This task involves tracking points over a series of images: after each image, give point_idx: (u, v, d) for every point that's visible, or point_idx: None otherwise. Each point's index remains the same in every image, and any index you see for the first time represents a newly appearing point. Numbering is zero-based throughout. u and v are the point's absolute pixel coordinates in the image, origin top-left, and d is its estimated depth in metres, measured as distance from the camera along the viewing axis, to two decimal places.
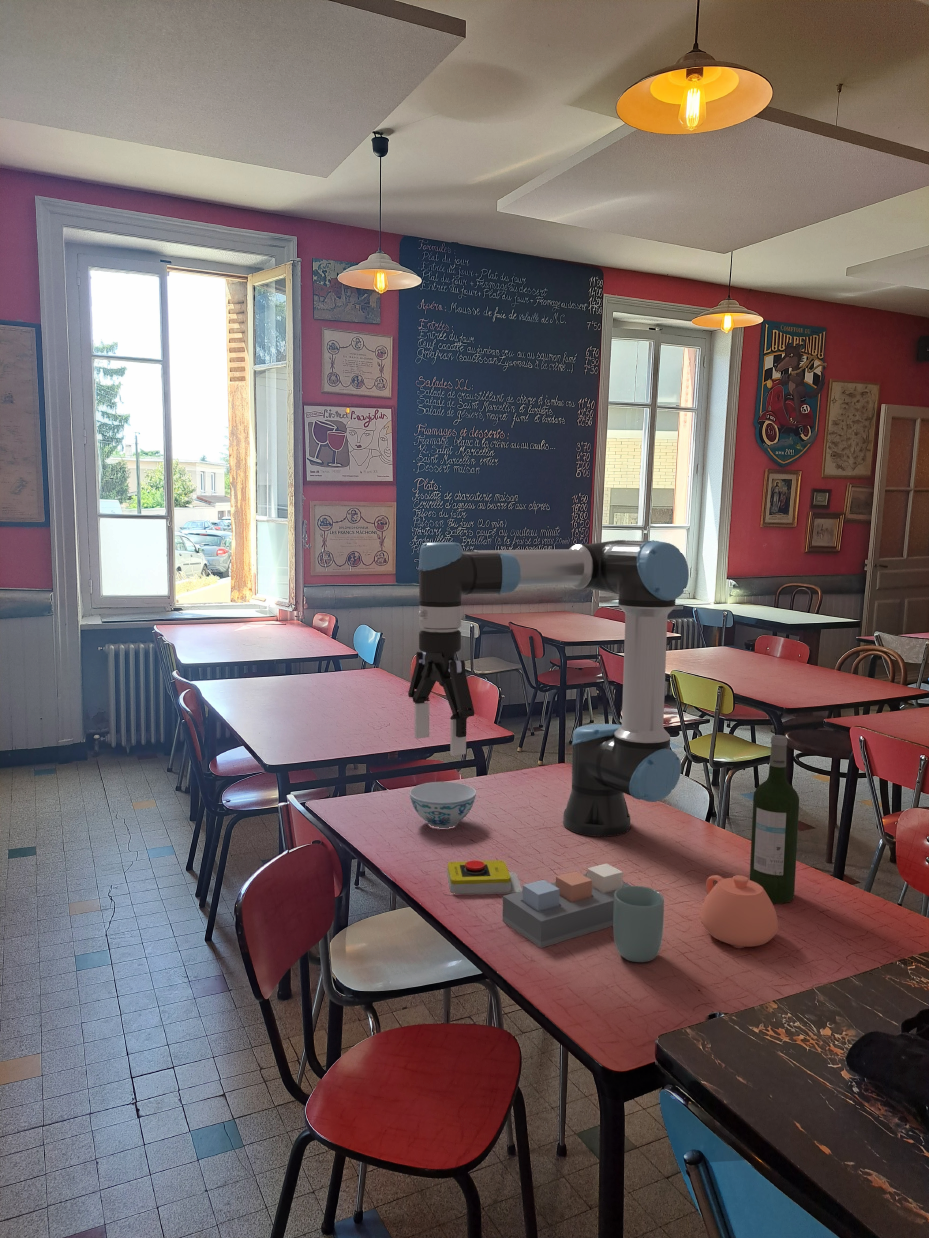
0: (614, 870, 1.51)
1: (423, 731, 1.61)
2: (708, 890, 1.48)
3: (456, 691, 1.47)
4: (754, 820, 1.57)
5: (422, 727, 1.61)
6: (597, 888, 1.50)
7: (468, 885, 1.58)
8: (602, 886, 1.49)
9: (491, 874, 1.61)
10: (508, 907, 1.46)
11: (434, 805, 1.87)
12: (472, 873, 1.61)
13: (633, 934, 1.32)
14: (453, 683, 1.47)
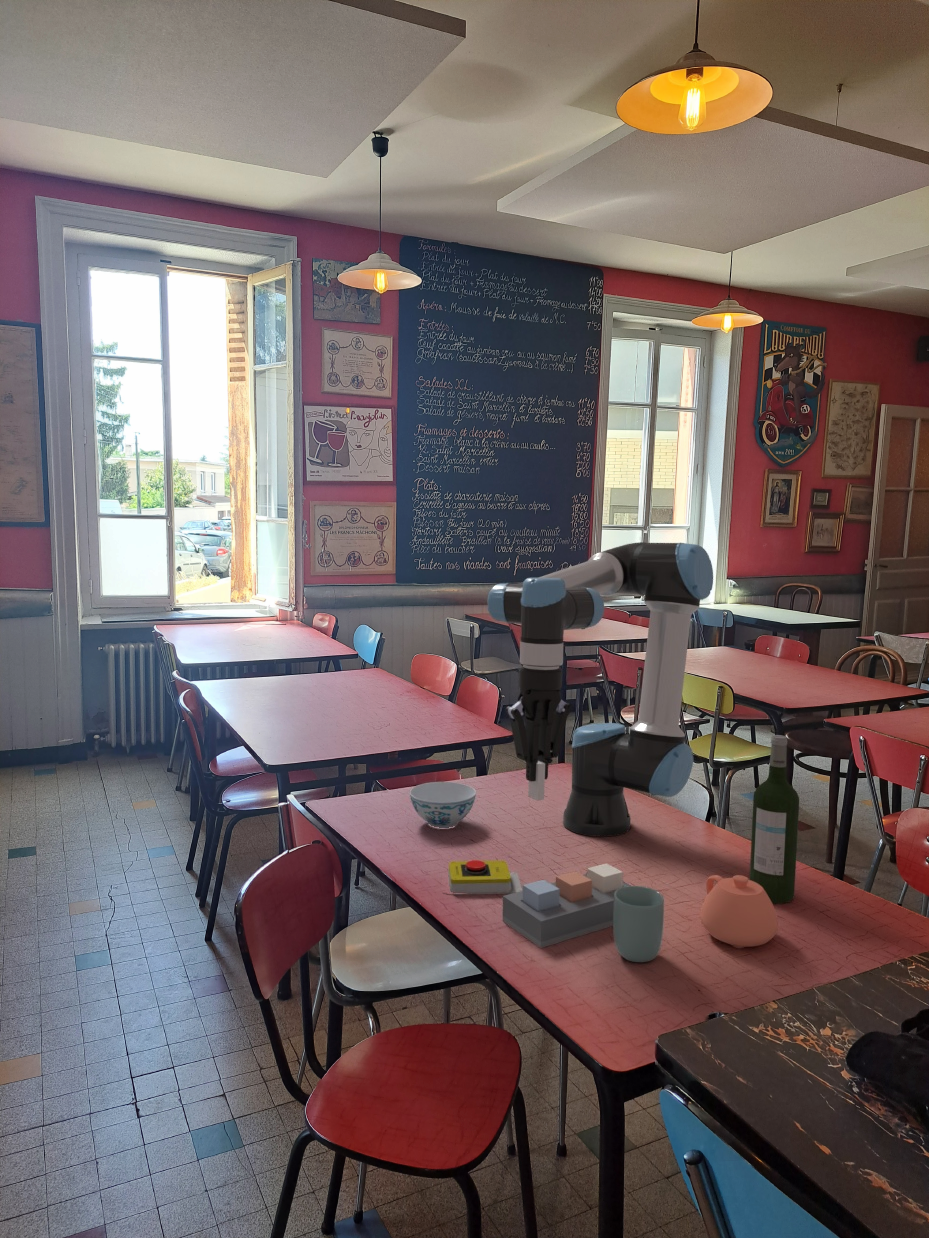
0: (614, 870, 1.51)
1: None
2: (708, 890, 1.48)
3: None
4: (754, 820, 1.57)
5: None
6: (597, 888, 1.50)
7: (468, 885, 1.58)
8: (602, 886, 1.49)
9: (492, 874, 1.61)
10: (508, 907, 1.46)
11: (434, 805, 1.87)
12: (472, 873, 1.61)
13: (633, 934, 1.32)
14: None
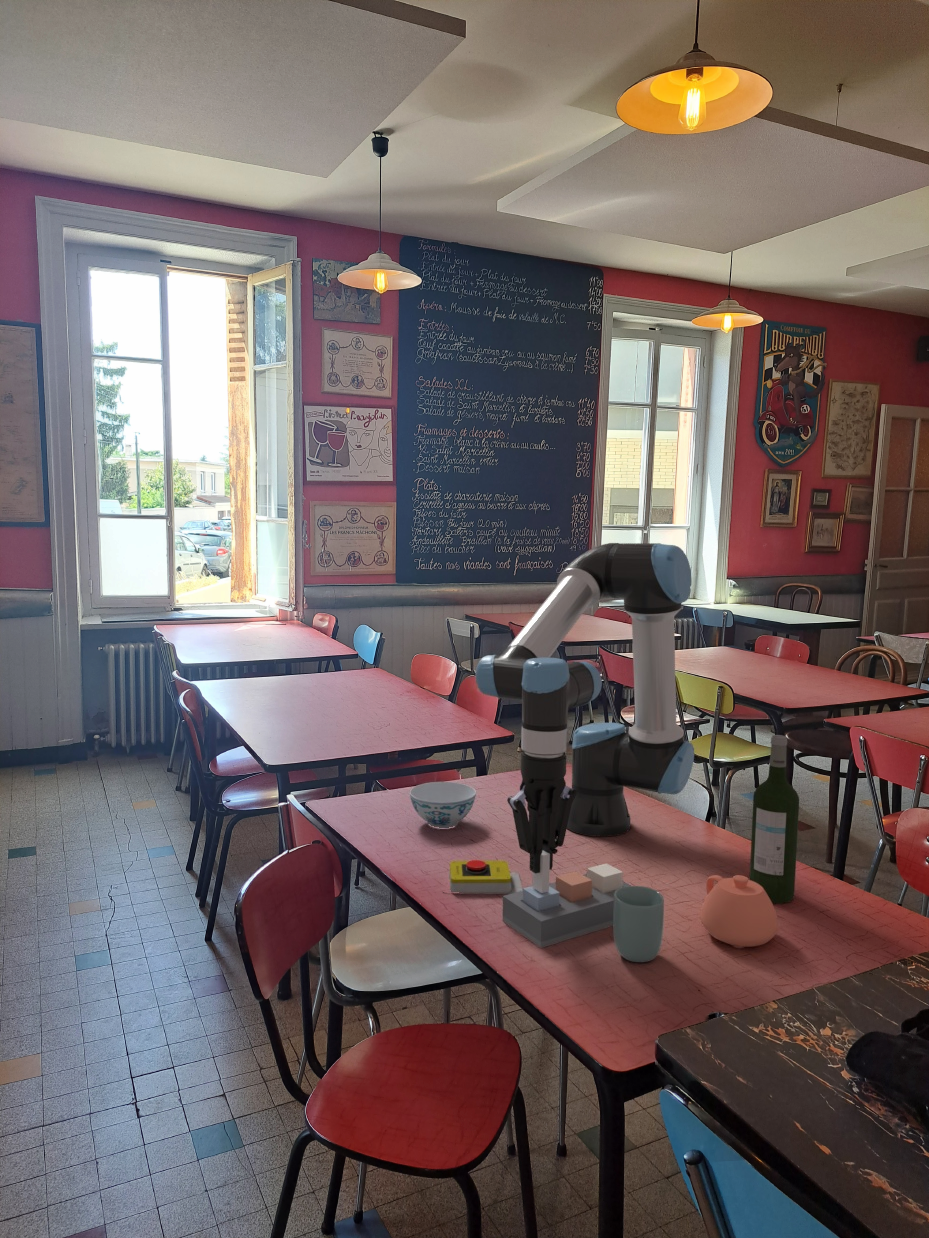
0: (614, 870, 1.51)
1: None
2: (708, 890, 1.48)
3: None
4: (754, 820, 1.57)
5: None
6: (597, 888, 1.50)
7: (468, 884, 1.59)
8: (602, 886, 1.49)
9: (492, 874, 1.61)
10: (508, 907, 1.46)
11: (434, 805, 1.87)
12: (473, 873, 1.61)
13: (633, 934, 1.32)
14: None
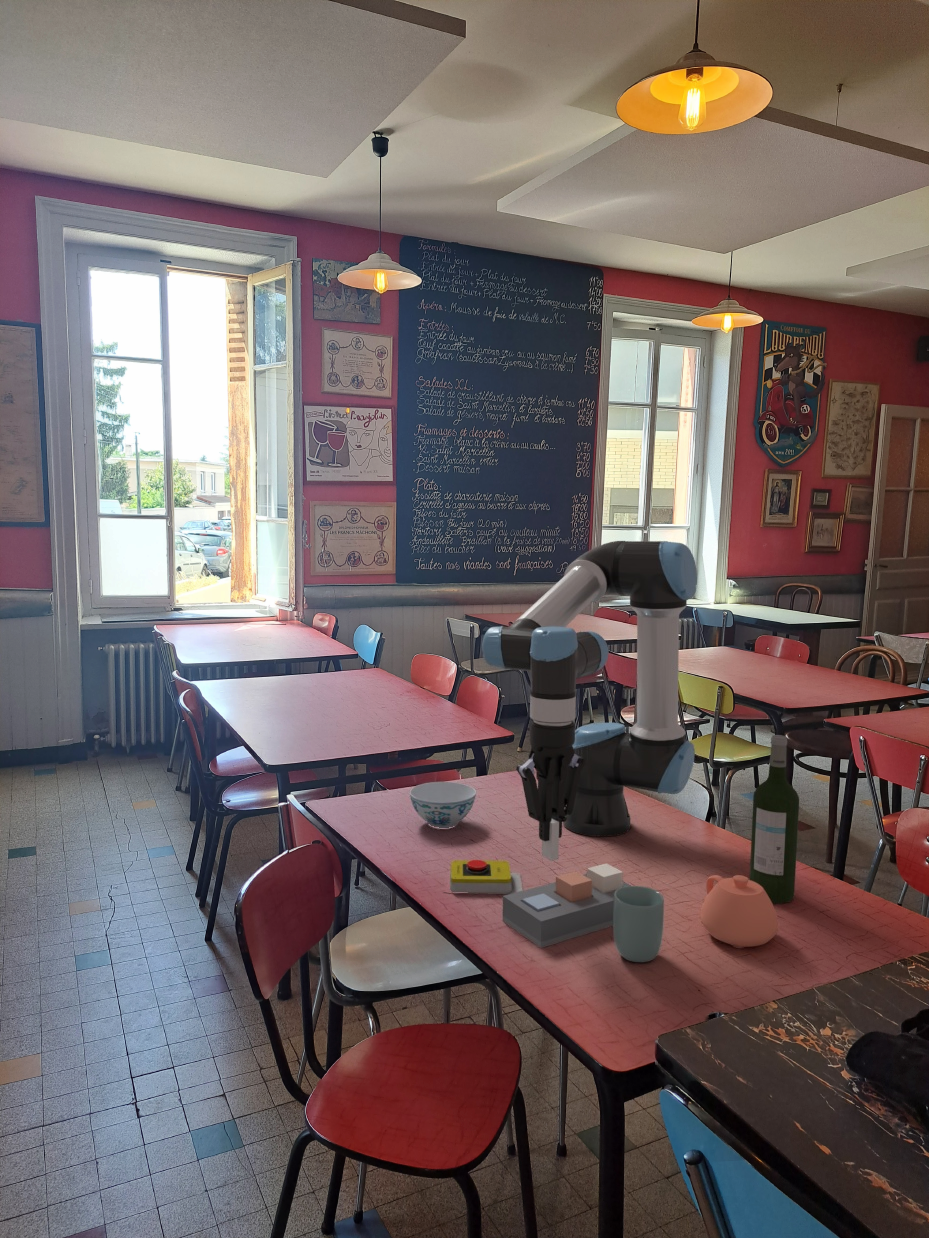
0: (614, 870, 1.51)
1: None
2: (708, 890, 1.48)
3: None
4: (754, 820, 1.57)
5: None
6: (597, 888, 1.50)
7: (468, 884, 1.59)
8: (602, 886, 1.49)
9: (492, 874, 1.61)
10: (508, 907, 1.46)
11: (434, 805, 1.87)
12: (473, 872, 1.61)
13: (633, 934, 1.32)
14: None
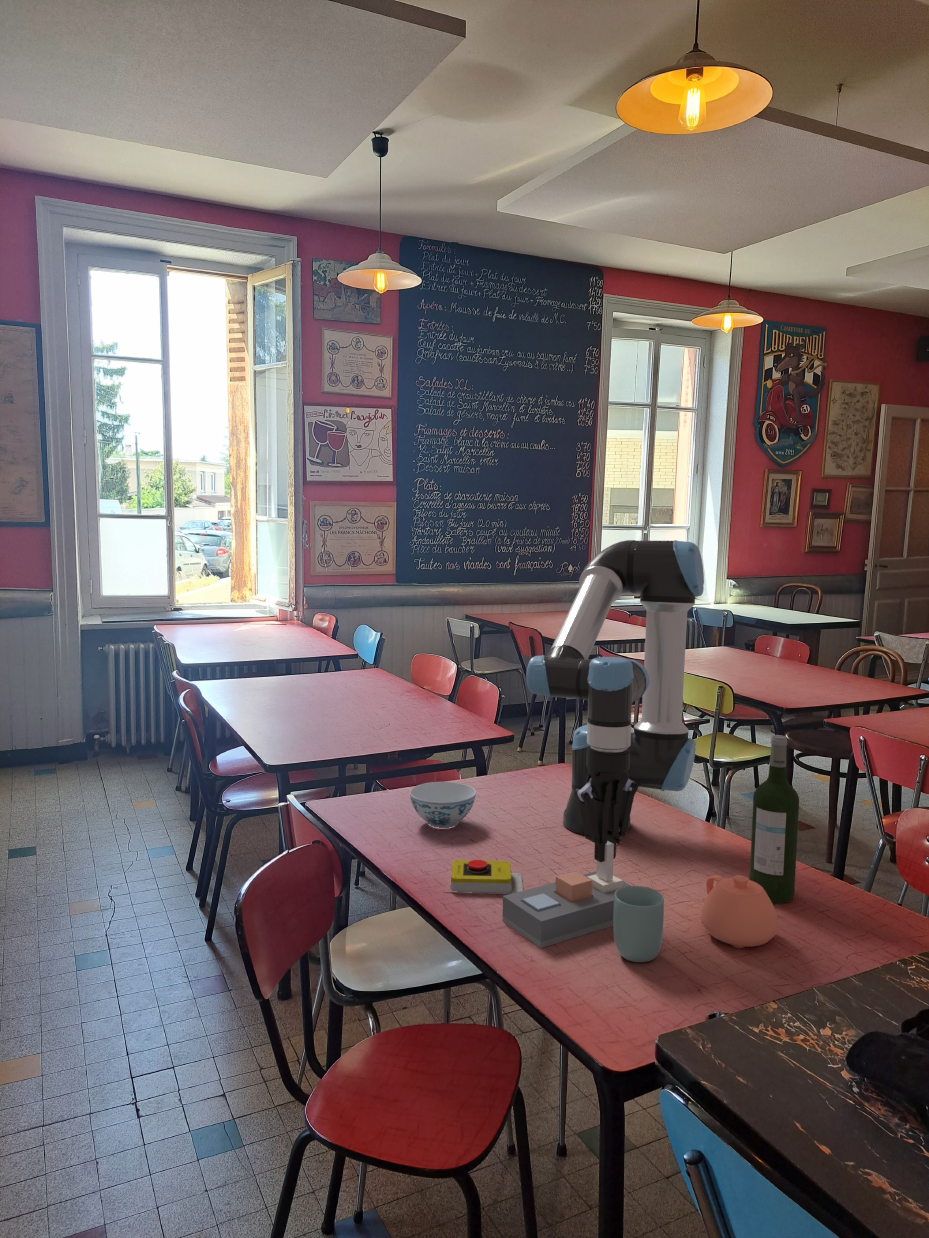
0: (613, 879, 1.51)
1: None
2: (708, 890, 1.48)
3: None
4: (754, 820, 1.57)
5: None
6: None
7: (468, 884, 1.59)
8: None
9: (492, 874, 1.61)
10: (508, 907, 1.46)
11: (434, 805, 1.87)
12: (473, 872, 1.61)
13: (633, 934, 1.32)
14: None
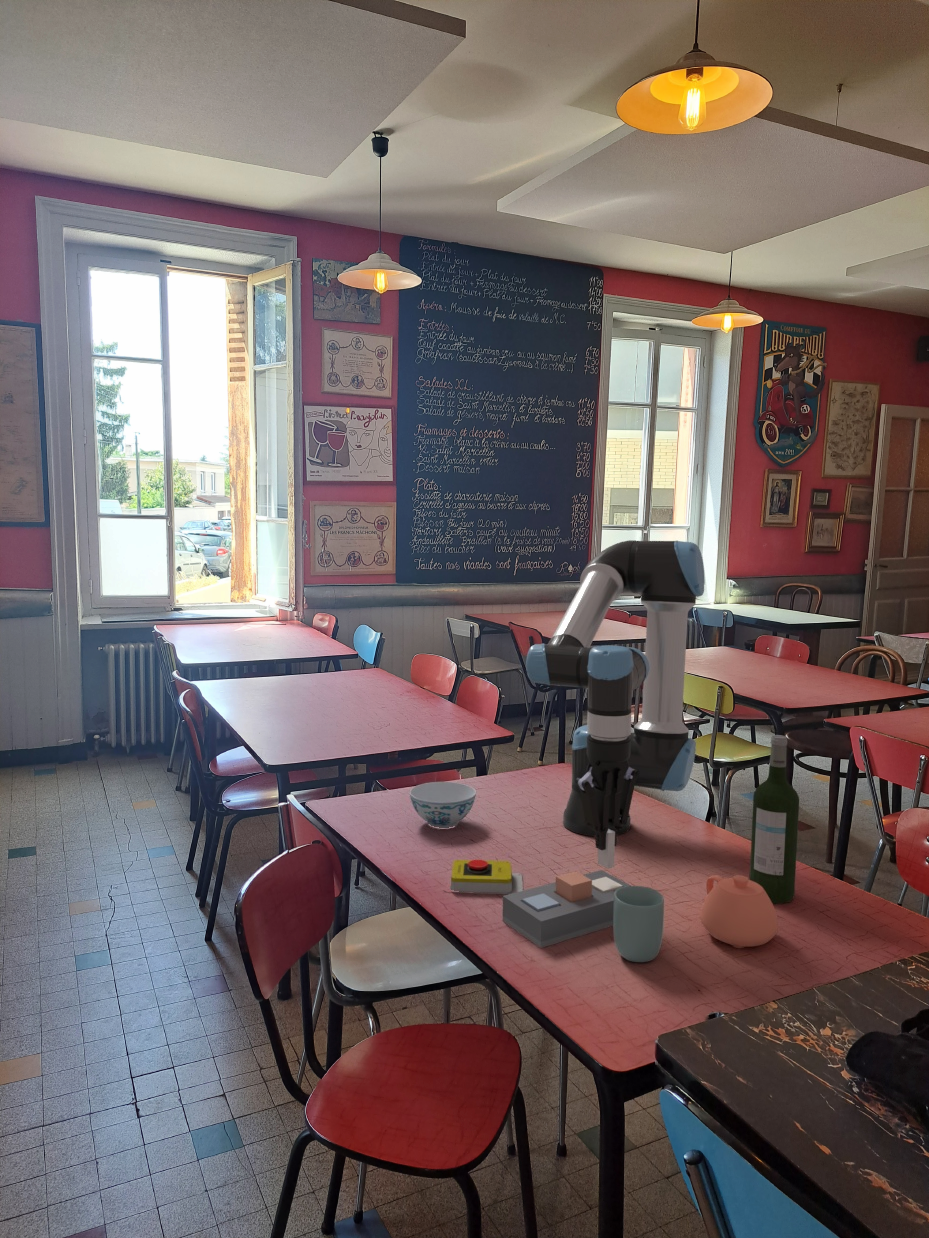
0: (613, 884, 1.52)
1: None
2: (708, 890, 1.48)
3: None
4: (754, 820, 1.57)
5: None
6: None
7: (468, 883, 1.59)
8: None
9: (493, 874, 1.61)
10: (508, 907, 1.46)
11: (434, 805, 1.87)
12: (474, 872, 1.61)
13: (633, 934, 1.32)
14: None
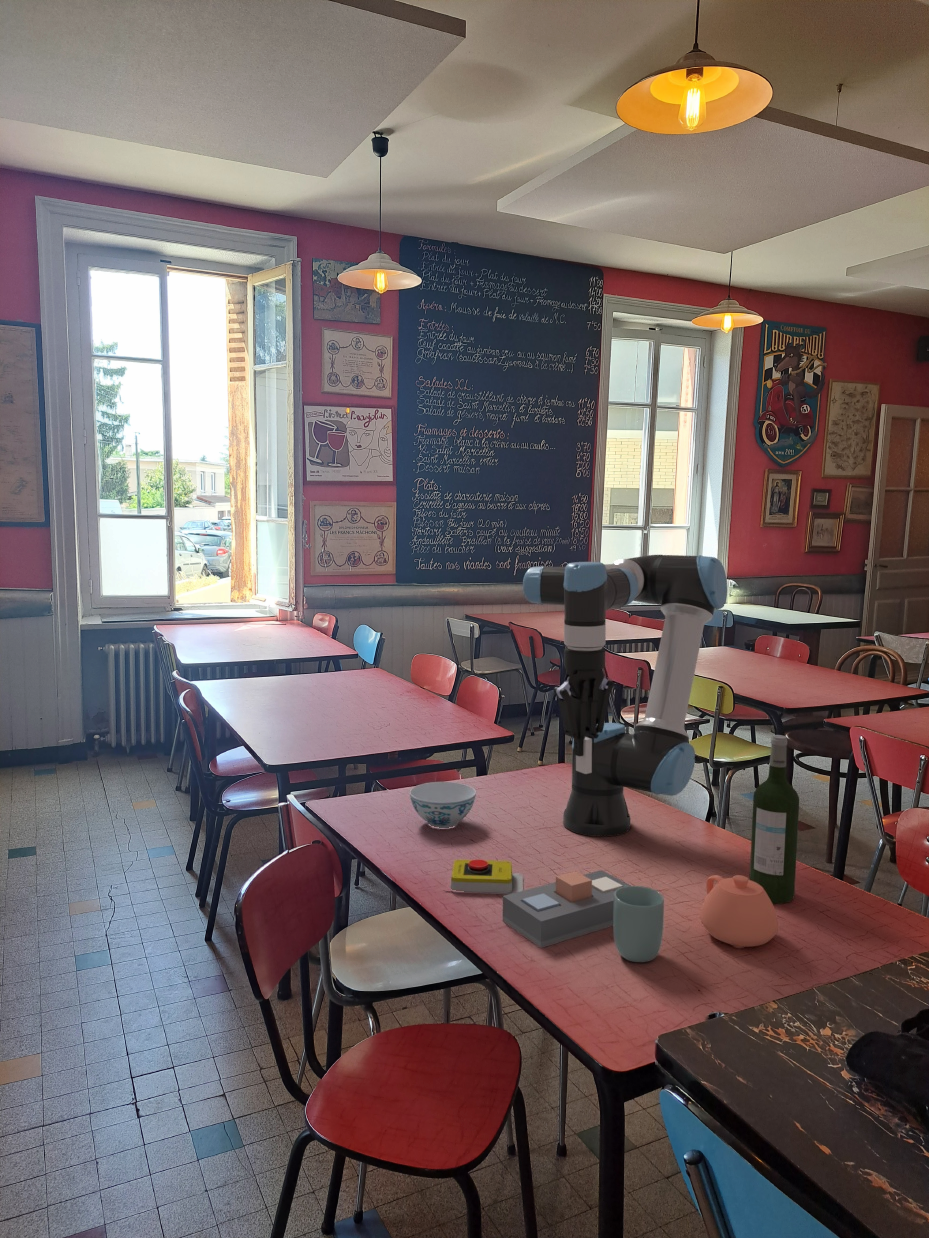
0: (613, 884, 1.52)
1: None
2: (708, 890, 1.48)
3: None
4: (754, 820, 1.57)
5: None
6: None
7: (468, 883, 1.59)
8: None
9: (493, 874, 1.61)
10: (508, 907, 1.46)
11: (434, 805, 1.87)
12: (474, 872, 1.61)
13: (633, 934, 1.32)
14: None
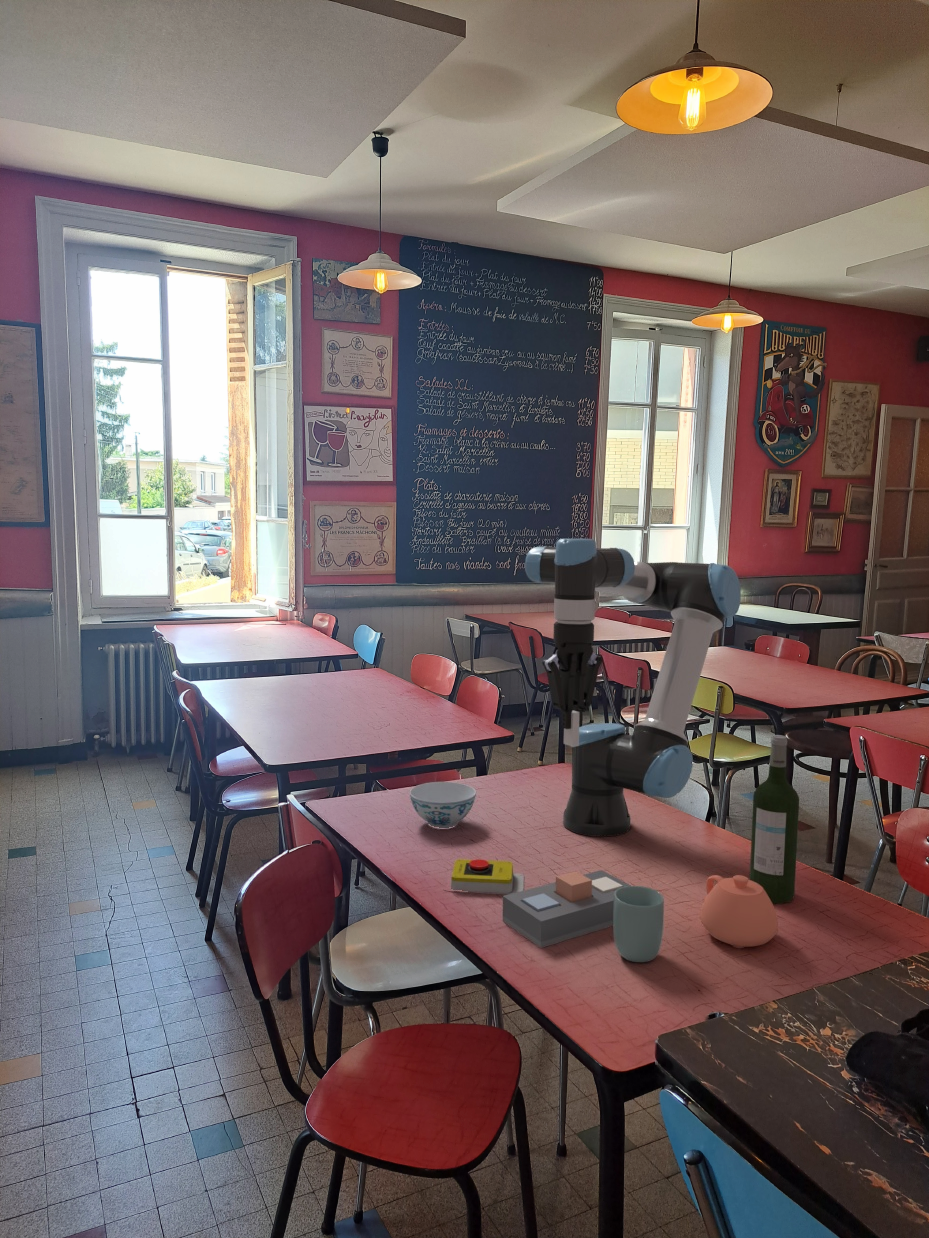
0: (613, 884, 1.52)
1: None
2: (708, 890, 1.48)
3: None
4: (754, 820, 1.57)
5: None
6: None
7: (468, 883, 1.59)
8: None
9: (493, 874, 1.61)
10: (508, 907, 1.46)
11: (434, 805, 1.87)
12: (474, 872, 1.62)
13: (633, 934, 1.32)
14: None
